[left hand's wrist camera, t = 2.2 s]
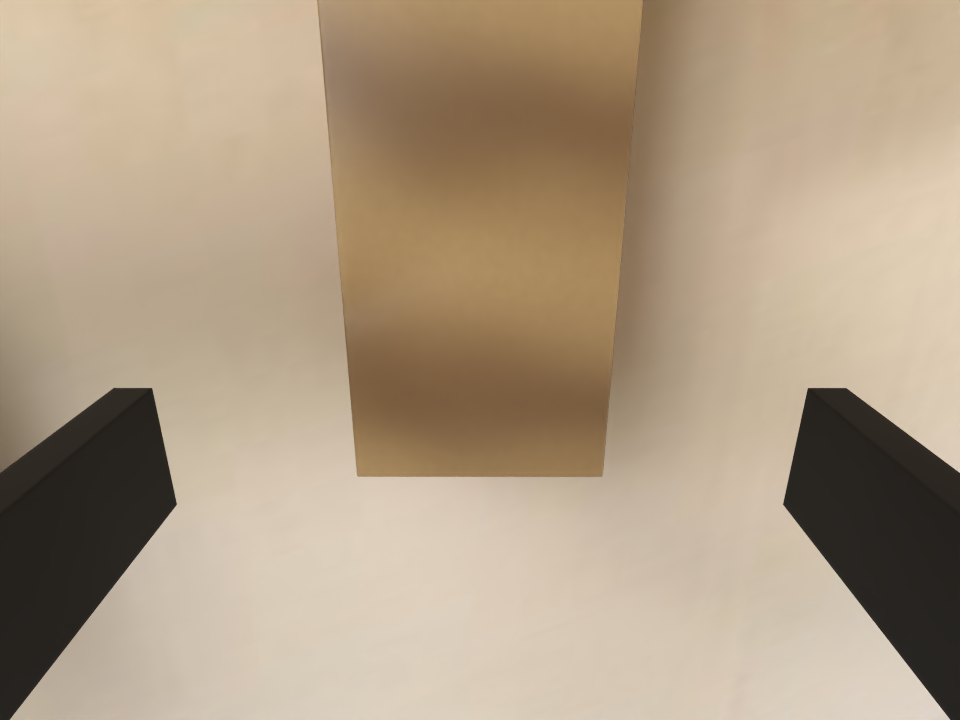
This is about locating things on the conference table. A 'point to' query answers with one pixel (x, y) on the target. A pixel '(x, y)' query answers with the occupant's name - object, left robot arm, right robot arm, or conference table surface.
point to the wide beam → (480, 227)
